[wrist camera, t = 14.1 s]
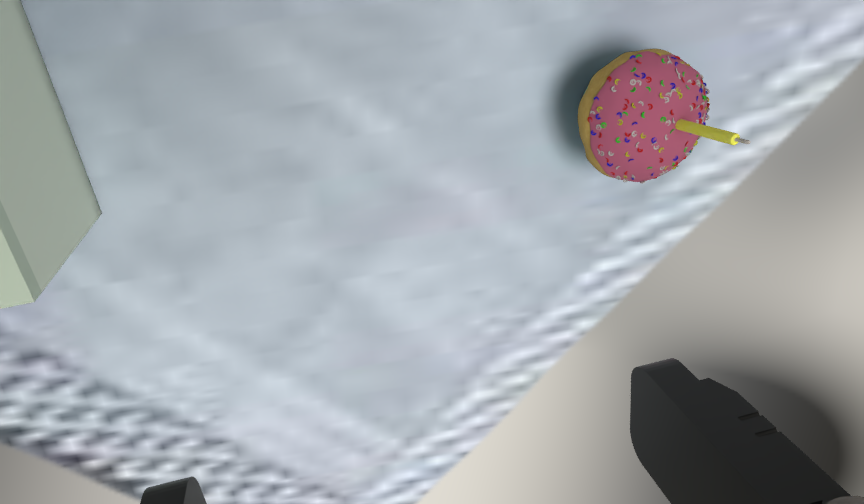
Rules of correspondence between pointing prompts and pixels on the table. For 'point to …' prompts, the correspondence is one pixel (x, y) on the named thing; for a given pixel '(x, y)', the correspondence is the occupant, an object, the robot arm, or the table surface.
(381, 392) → the table surface
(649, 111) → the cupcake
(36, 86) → the box
